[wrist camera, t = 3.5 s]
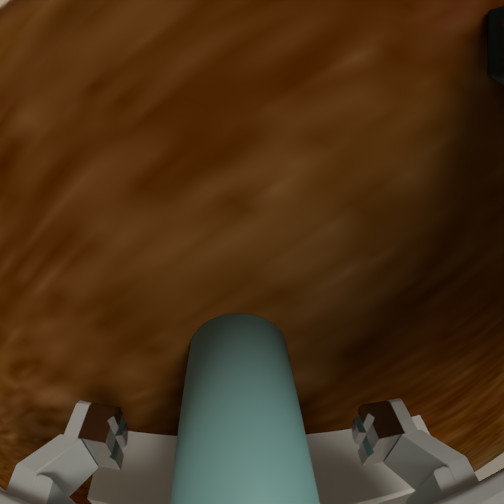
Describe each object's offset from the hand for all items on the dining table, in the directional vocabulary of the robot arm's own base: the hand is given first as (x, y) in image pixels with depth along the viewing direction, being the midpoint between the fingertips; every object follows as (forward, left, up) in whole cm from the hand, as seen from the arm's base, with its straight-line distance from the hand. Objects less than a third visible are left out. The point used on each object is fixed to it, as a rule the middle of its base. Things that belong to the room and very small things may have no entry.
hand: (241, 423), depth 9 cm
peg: (0, 0, -4) cm, 4 cm away
